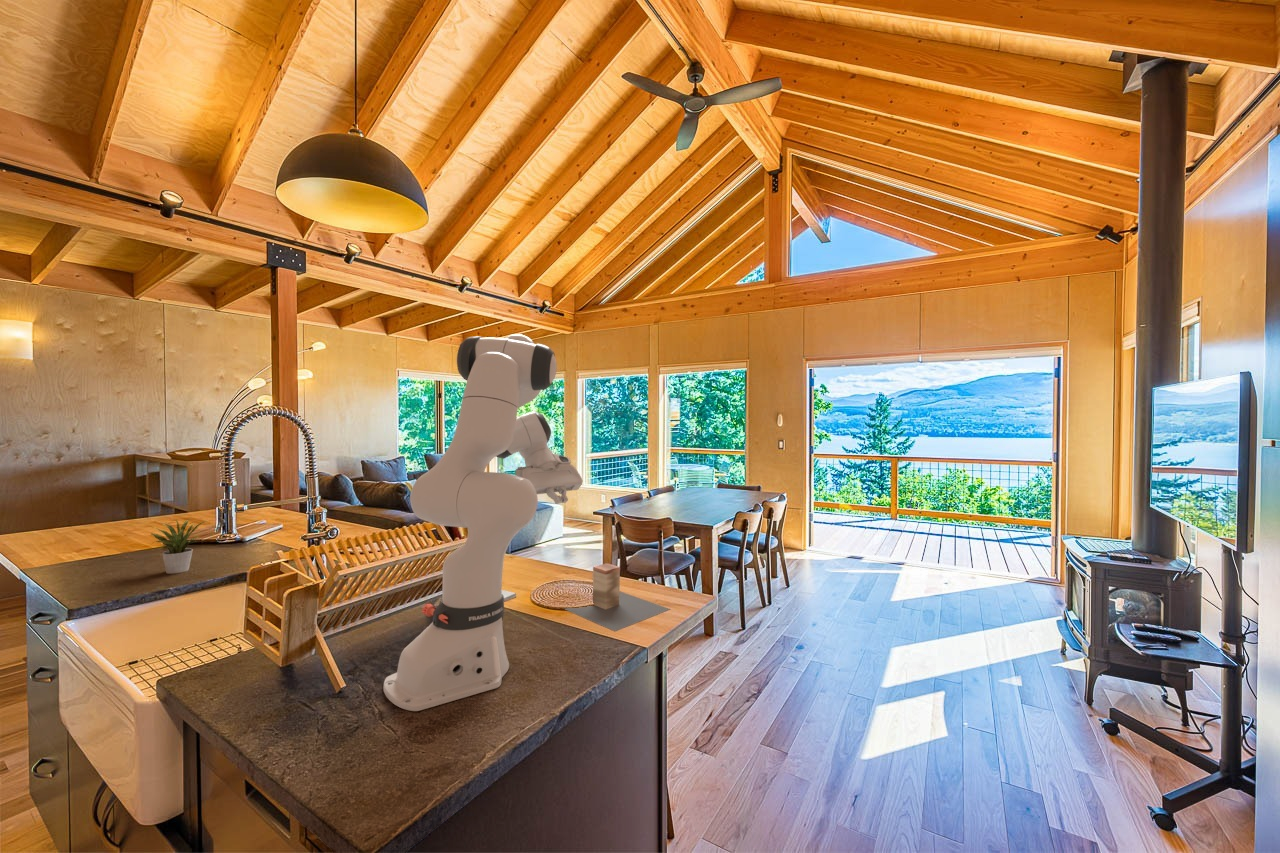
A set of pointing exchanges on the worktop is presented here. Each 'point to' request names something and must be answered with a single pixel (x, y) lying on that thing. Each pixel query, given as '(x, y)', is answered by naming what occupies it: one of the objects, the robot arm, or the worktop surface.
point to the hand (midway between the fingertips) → (562, 502)
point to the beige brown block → (606, 585)
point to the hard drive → (508, 595)
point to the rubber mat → (620, 612)
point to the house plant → (177, 548)
